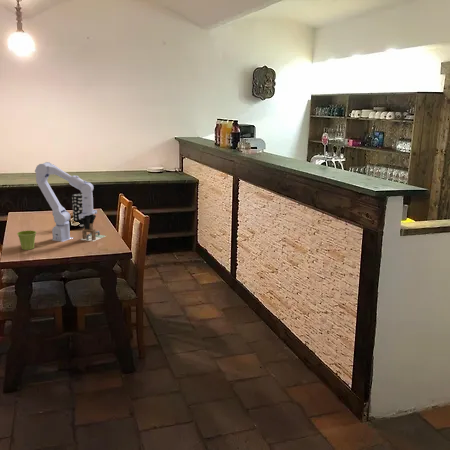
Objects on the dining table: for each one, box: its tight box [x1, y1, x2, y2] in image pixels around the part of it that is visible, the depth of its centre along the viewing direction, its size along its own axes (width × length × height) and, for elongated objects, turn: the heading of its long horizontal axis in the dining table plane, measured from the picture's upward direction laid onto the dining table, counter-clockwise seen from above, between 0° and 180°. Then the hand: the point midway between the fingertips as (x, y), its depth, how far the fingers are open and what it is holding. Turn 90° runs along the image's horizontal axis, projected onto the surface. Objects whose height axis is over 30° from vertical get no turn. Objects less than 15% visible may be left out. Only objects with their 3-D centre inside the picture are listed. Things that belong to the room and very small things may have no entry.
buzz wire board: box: [80, 230, 104, 242], centre depth 293 cm, size 13×9×5 cm
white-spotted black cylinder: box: [71, 193, 84, 229], centre depth 319 cm, size 8×8×20 cm
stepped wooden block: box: [81, 222, 97, 241], centre depth 289 cm, size 2×7×9 cm, turn 70°
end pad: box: [90, 234, 106, 239], centre depth 297 cm, size 4×8×1 cm, turn 70°
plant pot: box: [16, 230, 37, 251], centre depth 270 cm, size 9×9×9 cm
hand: (88, 228), depth 289 cm, fingers closed on stepped wooden block, 2 cm apart
